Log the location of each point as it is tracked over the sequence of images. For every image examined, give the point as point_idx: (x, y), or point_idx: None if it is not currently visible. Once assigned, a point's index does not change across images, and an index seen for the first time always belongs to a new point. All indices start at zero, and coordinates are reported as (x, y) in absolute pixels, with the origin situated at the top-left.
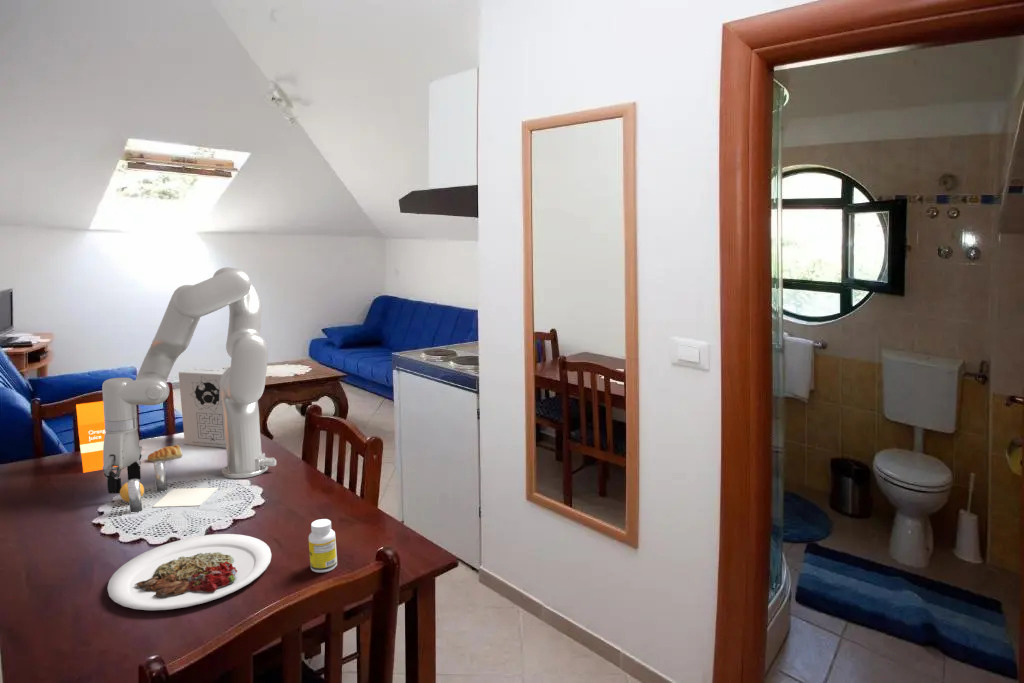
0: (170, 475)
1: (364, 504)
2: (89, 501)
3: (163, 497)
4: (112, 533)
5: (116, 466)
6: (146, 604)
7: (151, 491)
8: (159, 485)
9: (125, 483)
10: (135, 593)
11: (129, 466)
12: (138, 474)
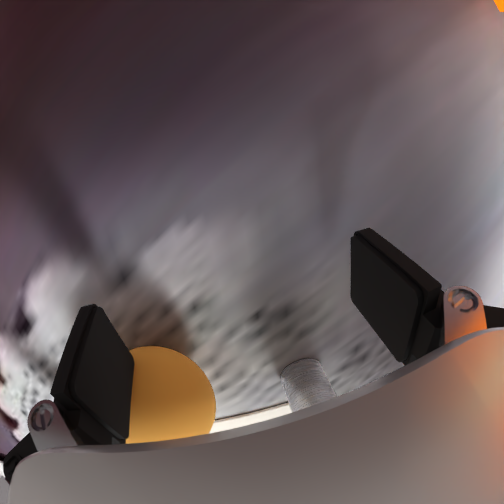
0: (452, 278)
1: None
2: (78, 131)
3: (223, 421)
4: (8, 415)
5: (500, 8)
6: (4, 476)
7: (286, 350)
8: (289, 403)
9: (130, 436)
10: (2, 466)
11: (422, 309)
12: (371, 322)
